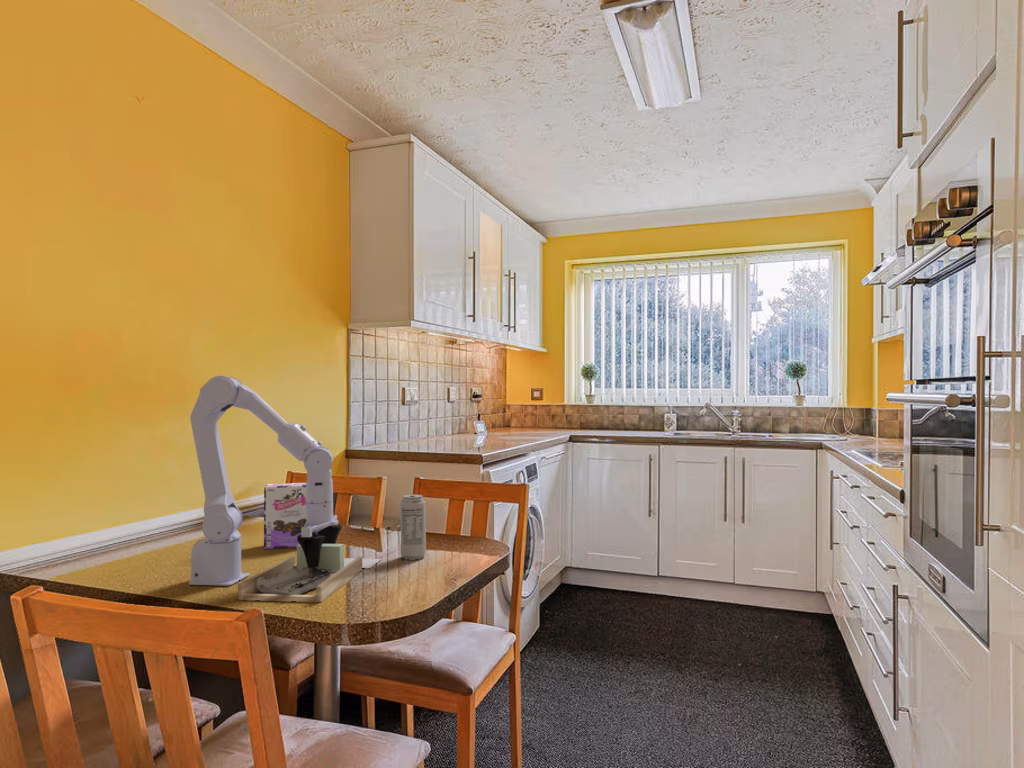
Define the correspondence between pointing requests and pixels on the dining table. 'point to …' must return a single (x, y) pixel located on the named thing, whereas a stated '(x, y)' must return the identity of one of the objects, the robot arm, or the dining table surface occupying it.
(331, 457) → the robot arm
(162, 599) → the dining table surface
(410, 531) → the energy drink can
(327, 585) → the birch rack
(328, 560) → the pale green block
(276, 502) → the candy box
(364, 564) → the light gray panel
